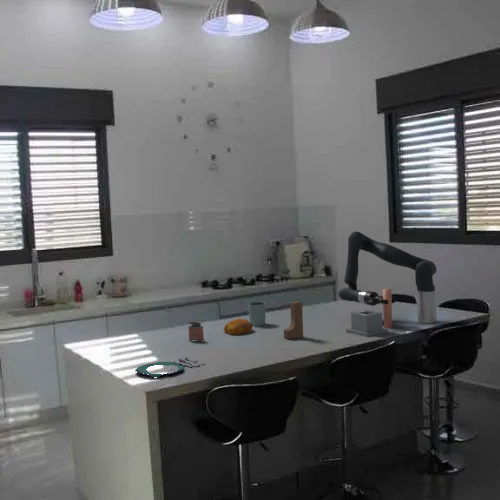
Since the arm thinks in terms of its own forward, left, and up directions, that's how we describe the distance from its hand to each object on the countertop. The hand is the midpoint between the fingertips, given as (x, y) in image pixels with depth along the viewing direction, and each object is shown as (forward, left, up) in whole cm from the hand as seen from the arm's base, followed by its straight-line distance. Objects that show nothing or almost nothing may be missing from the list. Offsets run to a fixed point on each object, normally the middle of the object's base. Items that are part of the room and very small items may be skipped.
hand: (391, 301), depth 333 cm
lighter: (+91, -47, -14) cm, 103 cm away
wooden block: (+51, -18, -14) cm, 56 cm away
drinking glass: (+46, -58, -14) cm, 75 cm away
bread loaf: (+64, -49, -14) cm, 82 cm away
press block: (+16, -2, -14) cm, 21 cm away
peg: (0, -3, -14) cm, 14 cm away
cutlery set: (+125, -7, -15) cm, 126 cm away
